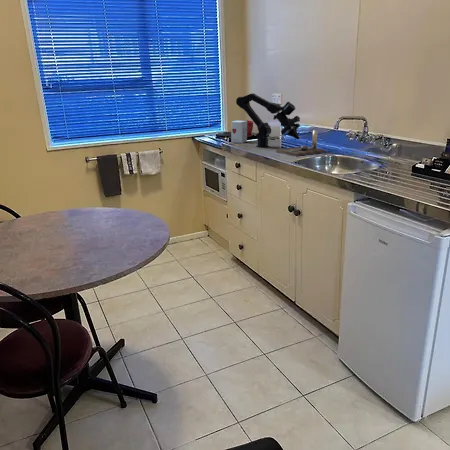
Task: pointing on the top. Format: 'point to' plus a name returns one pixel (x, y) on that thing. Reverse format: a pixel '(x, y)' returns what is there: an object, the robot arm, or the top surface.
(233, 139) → the supplement box
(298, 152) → the brown flat board
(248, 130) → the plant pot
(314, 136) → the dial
